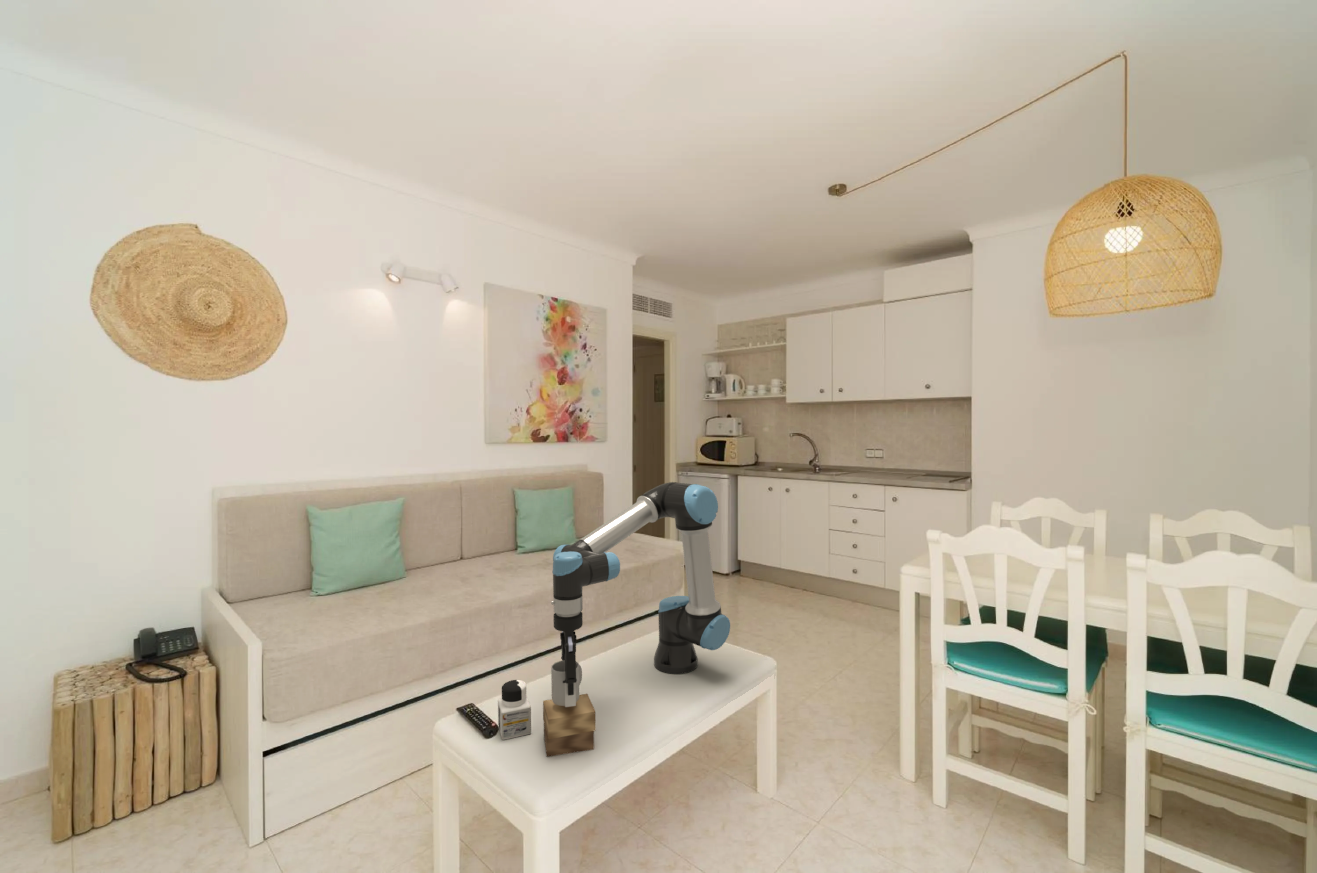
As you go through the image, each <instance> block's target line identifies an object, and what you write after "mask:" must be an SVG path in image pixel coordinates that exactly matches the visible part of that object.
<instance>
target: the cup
mask: <svg viewBox="0 0 1317 873" xmlns="http://www.w3.org/2000/svg"><path fill="white" fill-rule="evenodd" d="M550 668H551V670H550V673H551V674H550V675H551V676H550V677H551V678H550V679H551V683H550V684H551V699H552V701H553V703H554V704H556V705H559V706H565V683H563V681H564V680H565V660H562V659H561V660H559V661H556V662H554V663H553V664H552V665H551V666H550ZM582 677H583V670H582V667H581V665H580V663H579V662H578V661H576V679H577V681H576V702H577V701H578V699H579V695H580V685H581V683H582V679H583V678H582Z"/></svg>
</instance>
